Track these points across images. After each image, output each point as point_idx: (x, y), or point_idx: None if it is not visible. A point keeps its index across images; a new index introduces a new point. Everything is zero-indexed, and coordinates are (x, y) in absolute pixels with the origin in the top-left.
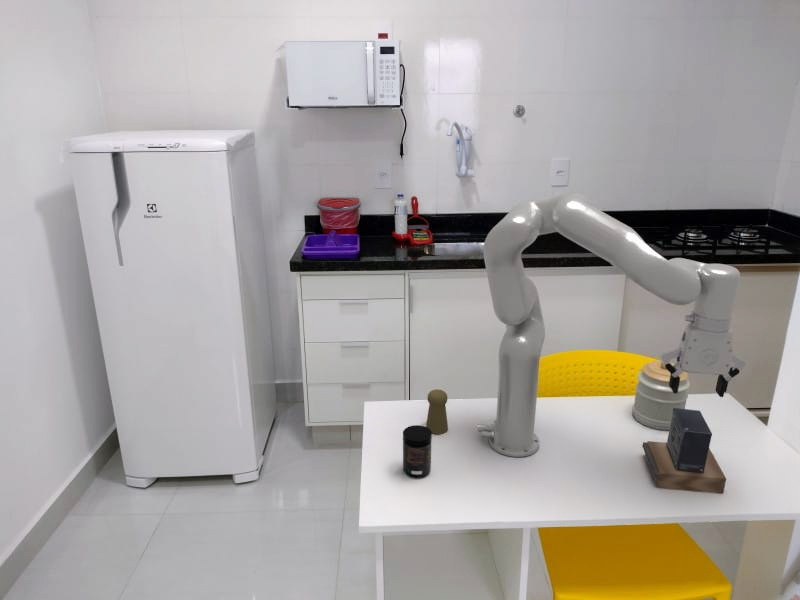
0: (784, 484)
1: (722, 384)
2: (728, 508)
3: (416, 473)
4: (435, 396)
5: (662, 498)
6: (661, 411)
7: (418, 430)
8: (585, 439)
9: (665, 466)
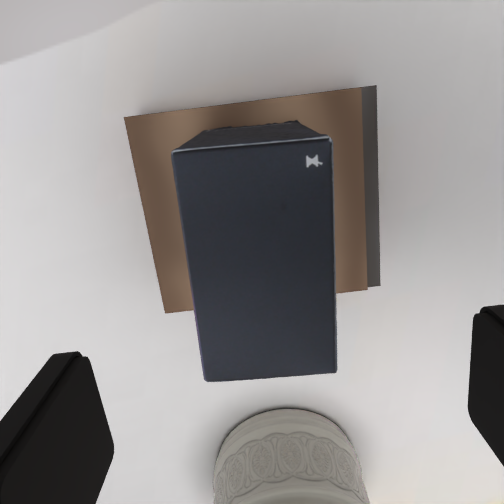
0: None
1: (17, 453)
2: (130, 31)
3: None
4: None
5: (340, 29)
6: (299, 457)
7: None
8: None
9: (333, 140)
